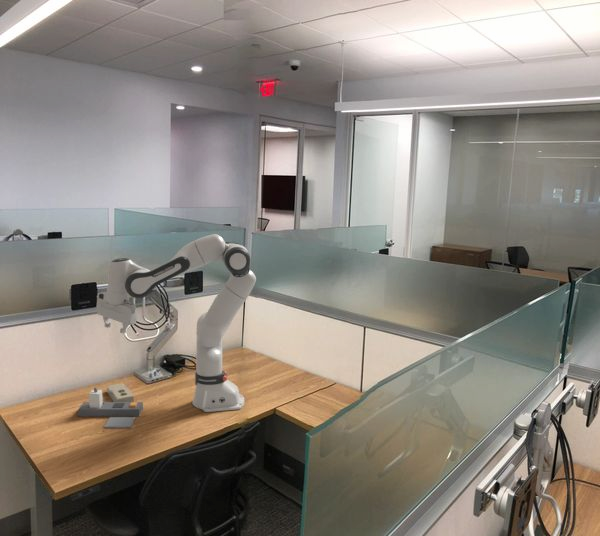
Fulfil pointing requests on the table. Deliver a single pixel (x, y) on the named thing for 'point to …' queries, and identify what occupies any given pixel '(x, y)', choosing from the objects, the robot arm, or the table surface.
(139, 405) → the power strip
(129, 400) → the electrical outlet
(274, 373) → the table surface
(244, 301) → the robot arm
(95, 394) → the charger
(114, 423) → the mat
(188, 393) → the table surface
